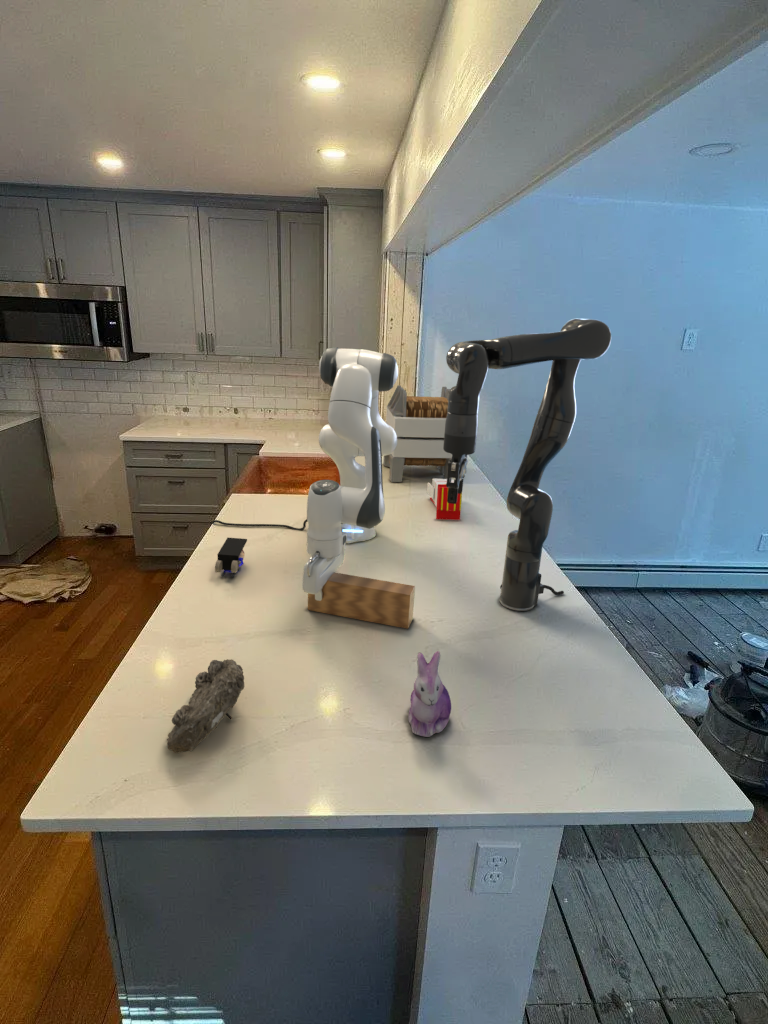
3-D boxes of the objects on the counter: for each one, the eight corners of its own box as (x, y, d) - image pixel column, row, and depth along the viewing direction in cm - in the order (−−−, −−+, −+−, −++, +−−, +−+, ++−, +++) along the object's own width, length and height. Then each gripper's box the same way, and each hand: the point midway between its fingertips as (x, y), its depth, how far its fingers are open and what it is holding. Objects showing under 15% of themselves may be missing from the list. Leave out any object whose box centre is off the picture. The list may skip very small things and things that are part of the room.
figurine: (421, 746, 103) (427, 677, 98) (394, 712, 111) (398, 646, 106) (464, 731, 107) (471, 664, 102) (435, 699, 116) (441, 635, 110)
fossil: (192, 660, 117) (244, 628, 112) (224, 691, 120) (276, 661, 115) (142, 746, 98) (202, 712, 93) (182, 779, 101) (242, 748, 96)
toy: (454, 474, 240) (466, 486, 210) (452, 505, 242) (464, 521, 213) (426, 473, 239) (434, 485, 210) (424, 504, 242) (432, 520, 212)
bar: (307, 610, 147) (307, 577, 144) (315, 600, 152) (315, 569, 149) (408, 628, 141) (410, 594, 138) (412, 618, 145) (415, 585, 142)
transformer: (382, 463, 289) (386, 382, 275) (445, 464, 293) (451, 384, 279) (390, 482, 257) (394, 392, 243) (460, 483, 261) (468, 394, 247)
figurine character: (238, 584, 162) (249, 557, 175) (236, 562, 158) (247, 536, 172) (215, 584, 161) (227, 556, 175) (212, 561, 158) (225, 535, 171)
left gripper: (320, 563, 133) (320, 614, 137) (349, 532, 151) (348, 579, 156) (295, 559, 134) (296, 610, 139) (327, 529, 153) (326, 575, 157)
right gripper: (472, 439, 125) (466, 509, 130) (480, 427, 137) (474, 491, 143) (439, 436, 126) (433, 504, 132) (450, 425, 139) (444, 487, 145)
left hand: (324, 593), depth 148 cm, fingers closed on bar, 5 cm apart
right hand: (454, 497), depth 137 cm, fingers open, 8 cm apart
